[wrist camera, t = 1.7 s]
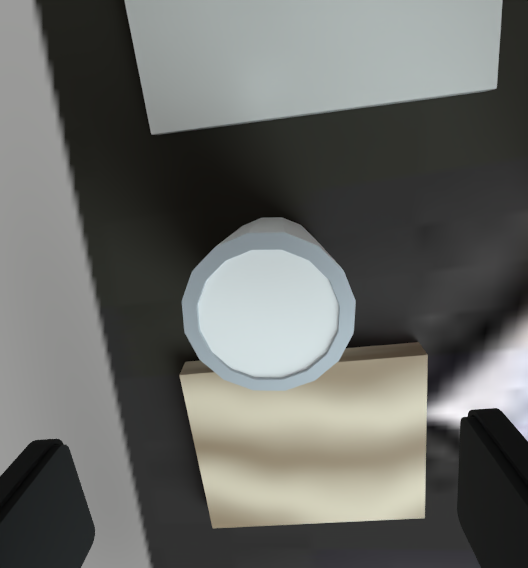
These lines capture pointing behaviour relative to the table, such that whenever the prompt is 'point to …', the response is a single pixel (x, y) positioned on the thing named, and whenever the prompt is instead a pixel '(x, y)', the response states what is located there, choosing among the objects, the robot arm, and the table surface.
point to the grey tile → (305, 56)
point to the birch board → (314, 442)
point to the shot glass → (269, 307)
